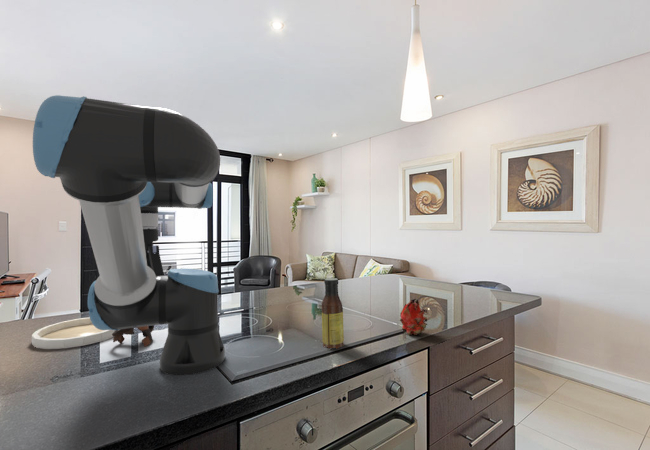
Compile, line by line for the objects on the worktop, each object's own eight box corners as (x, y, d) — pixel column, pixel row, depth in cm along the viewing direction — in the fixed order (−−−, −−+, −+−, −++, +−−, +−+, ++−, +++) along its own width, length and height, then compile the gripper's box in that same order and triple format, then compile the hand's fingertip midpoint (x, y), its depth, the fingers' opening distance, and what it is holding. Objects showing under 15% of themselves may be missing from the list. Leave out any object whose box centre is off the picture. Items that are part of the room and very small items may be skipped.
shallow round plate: (134, 333, 101) (134, 325, 101) (43, 356, 84) (43, 346, 84) (108, 319, 115) (108, 312, 115) (25, 337, 97) (25, 328, 97)
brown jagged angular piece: (141, 352, 87) (124, 327, 85) (116, 364, 89) (100, 340, 88) (168, 328, 98) (153, 307, 97) (146, 339, 100) (132, 318, 99)
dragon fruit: (408, 342, 95) (409, 303, 95) (394, 333, 103) (394, 296, 103) (432, 339, 98) (432, 300, 98) (416, 330, 106) (416, 294, 106)
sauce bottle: (346, 345, 93) (347, 278, 93) (338, 353, 87) (339, 281, 87) (326, 341, 95) (327, 276, 95) (317, 348, 90) (318, 279, 90)
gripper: (177, 228, 88) (177, 304, 88) (139, 226, 103) (139, 291, 103) (149, 229, 82) (149, 310, 82) (113, 227, 97) (113, 295, 97)
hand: (143, 299), depth 93 cm, fingers open, 13 cm apart
